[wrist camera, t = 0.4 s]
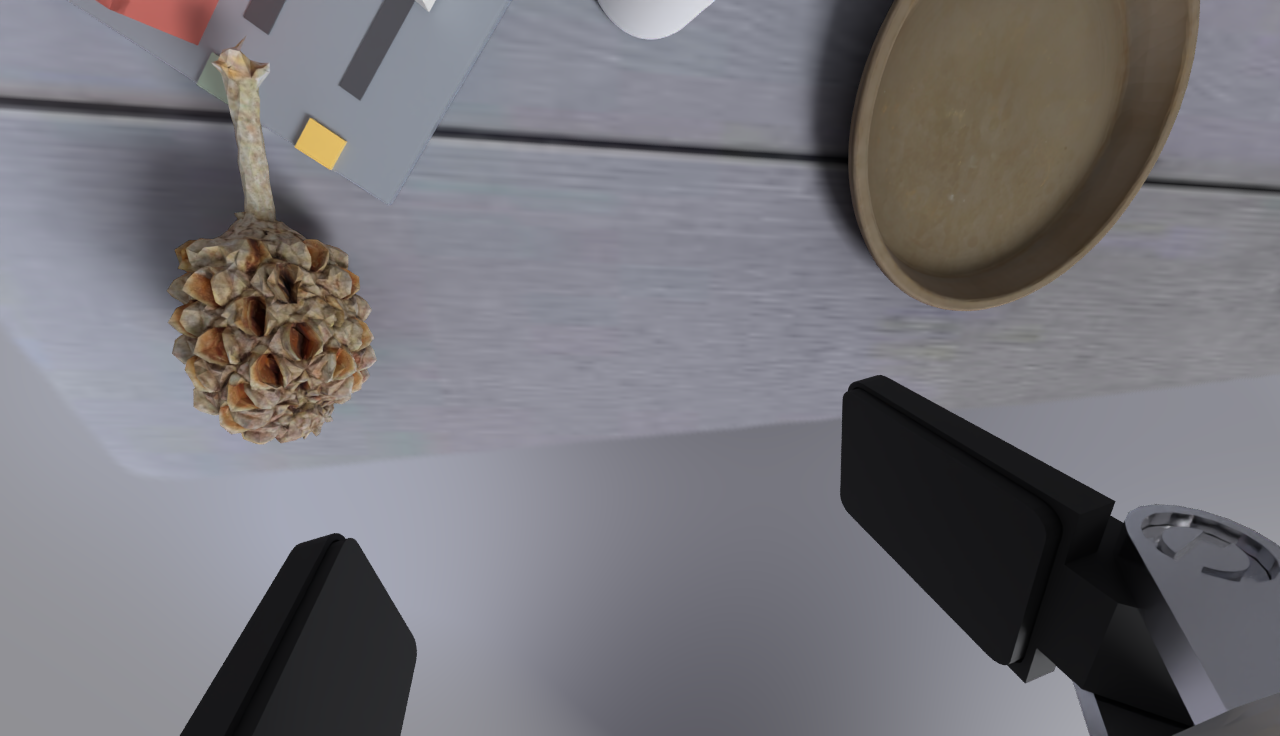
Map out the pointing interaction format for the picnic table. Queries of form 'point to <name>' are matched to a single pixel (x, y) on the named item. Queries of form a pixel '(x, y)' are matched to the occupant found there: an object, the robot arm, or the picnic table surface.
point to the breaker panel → (338, 72)
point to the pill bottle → (652, 15)
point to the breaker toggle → (426, 4)
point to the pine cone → (267, 302)
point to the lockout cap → (168, 15)
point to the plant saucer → (1009, 136)
